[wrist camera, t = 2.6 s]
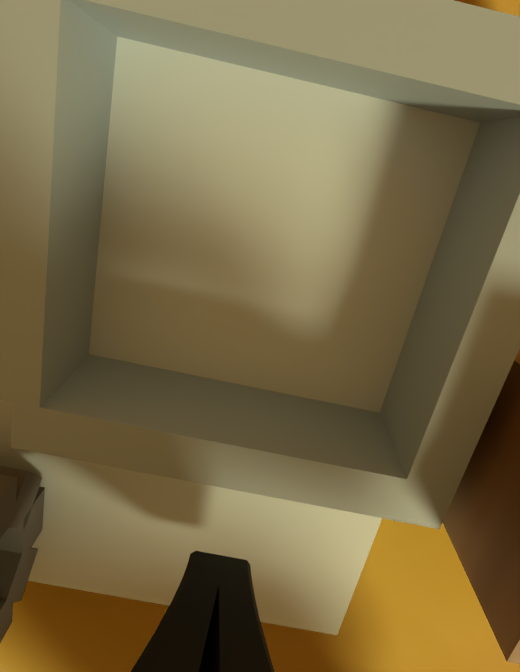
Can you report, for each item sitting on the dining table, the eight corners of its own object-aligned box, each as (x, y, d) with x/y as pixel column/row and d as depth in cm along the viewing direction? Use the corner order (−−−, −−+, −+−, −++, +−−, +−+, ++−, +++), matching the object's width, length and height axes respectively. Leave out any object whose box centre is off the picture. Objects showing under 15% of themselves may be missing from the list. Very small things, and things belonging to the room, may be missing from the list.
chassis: (332, 600, 15) (361, 819, 10) (-215, 501, 14) (-477, 689, 9) (520, 85, 10) (774, 16, 5) (-329, -121, 9) (-1079, -463, 4)
